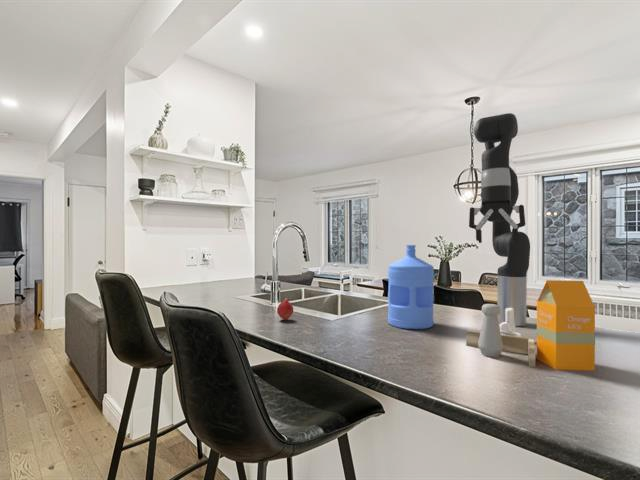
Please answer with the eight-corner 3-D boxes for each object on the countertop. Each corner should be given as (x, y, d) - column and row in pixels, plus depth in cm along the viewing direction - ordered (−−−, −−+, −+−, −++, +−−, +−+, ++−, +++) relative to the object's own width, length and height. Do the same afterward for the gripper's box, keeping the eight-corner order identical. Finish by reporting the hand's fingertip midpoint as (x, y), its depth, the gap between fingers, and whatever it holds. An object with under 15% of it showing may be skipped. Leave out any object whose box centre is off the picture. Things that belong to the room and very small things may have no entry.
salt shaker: (474, 354, 90) (474, 304, 90) (483, 350, 94) (483, 301, 94) (498, 360, 86) (498, 307, 86) (506, 355, 90) (506, 304, 90)
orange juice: (536, 358, 88) (536, 278, 88) (572, 359, 87) (572, 279, 88) (556, 369, 80) (556, 282, 80) (595, 370, 80) (596, 282, 80)
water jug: (386, 319, 132) (387, 244, 133) (429, 320, 130) (430, 245, 130) (388, 328, 117) (389, 244, 117) (437, 331, 115) (438, 245, 115)
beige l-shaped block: (466, 344, 100) (466, 330, 100) (533, 353, 92) (533, 338, 92) (460, 355, 89) (461, 339, 89) (535, 367, 81) (535, 349, 81)
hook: (501, 326, 99) (492, 309, 105) (501, 353, 106) (492, 335, 111) (529, 322, 98) (518, 304, 104) (527, 350, 104) (517, 332, 110)
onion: (275, 321, 126) (275, 299, 126) (279, 318, 131) (280, 296, 131) (291, 322, 125) (291, 299, 125) (294, 319, 130) (295, 297, 130)
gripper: (467, 186, 100) (468, 243, 100) (525, 181, 93) (526, 242, 93) (469, 189, 107) (470, 242, 107) (523, 185, 100) (524, 242, 100)
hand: (496, 242), depth 100 cm, fingers open, 8 cm apart
